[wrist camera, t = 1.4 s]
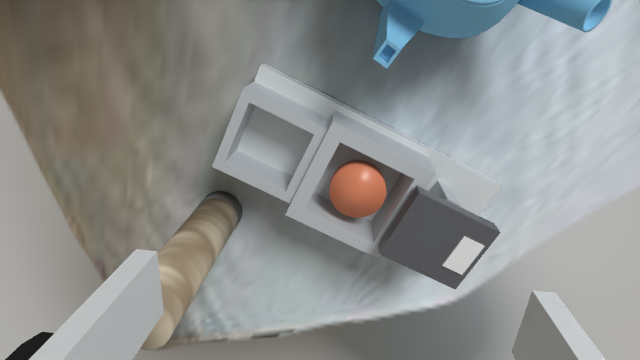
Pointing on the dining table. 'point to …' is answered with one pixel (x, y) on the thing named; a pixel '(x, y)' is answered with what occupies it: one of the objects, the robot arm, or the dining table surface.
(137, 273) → the robot arm
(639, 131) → the dining table surface
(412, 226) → the plate
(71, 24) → the dining table surface
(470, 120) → the dining table surface
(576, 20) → the teapot
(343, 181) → the orange round button
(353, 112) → the grey slotted holder
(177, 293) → the tan banded rod
